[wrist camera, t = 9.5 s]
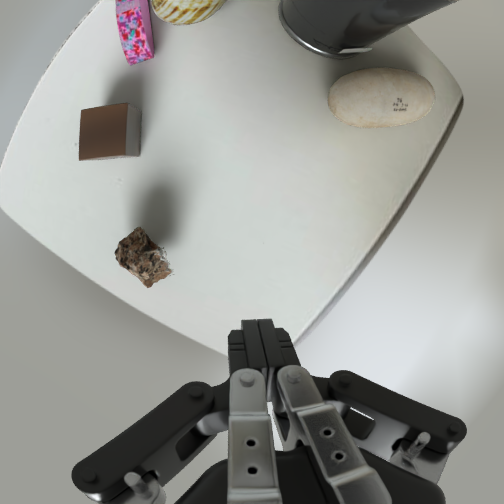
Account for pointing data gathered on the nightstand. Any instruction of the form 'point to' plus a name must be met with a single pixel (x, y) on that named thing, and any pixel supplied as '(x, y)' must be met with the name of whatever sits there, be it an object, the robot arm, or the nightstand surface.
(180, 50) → the nightstand surface
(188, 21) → the seashell
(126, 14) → the headband
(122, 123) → the brown cube block
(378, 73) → the stone
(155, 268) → the rock
